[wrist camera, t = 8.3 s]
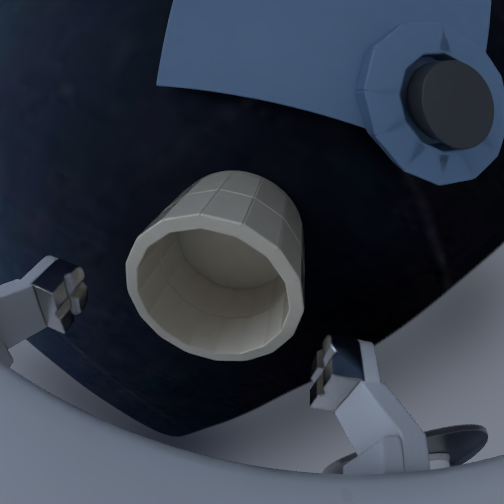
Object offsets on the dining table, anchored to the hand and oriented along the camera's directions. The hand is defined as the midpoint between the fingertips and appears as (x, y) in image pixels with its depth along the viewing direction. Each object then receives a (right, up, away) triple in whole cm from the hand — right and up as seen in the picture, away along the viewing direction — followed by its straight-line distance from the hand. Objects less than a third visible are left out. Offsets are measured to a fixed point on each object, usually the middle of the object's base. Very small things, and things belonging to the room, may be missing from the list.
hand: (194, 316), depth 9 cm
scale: (+5, +13, -1) cm, 14 cm away
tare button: (+8, +7, -2) cm, 11 cm away
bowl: (+1, +3, +5) cm, 6 cm away
